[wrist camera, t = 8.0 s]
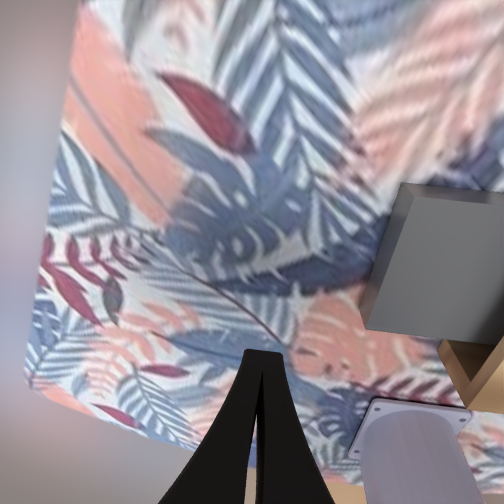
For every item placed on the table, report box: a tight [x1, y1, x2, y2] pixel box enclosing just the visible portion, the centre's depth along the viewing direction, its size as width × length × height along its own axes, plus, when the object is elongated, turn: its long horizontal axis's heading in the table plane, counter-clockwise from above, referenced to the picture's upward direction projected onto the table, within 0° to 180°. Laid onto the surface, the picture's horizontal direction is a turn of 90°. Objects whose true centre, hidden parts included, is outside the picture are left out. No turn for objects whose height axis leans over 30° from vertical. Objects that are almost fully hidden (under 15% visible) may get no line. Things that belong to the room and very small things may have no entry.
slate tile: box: [359, 183, 504, 345], centre depth 18 cm, size 9×12×2 cm
